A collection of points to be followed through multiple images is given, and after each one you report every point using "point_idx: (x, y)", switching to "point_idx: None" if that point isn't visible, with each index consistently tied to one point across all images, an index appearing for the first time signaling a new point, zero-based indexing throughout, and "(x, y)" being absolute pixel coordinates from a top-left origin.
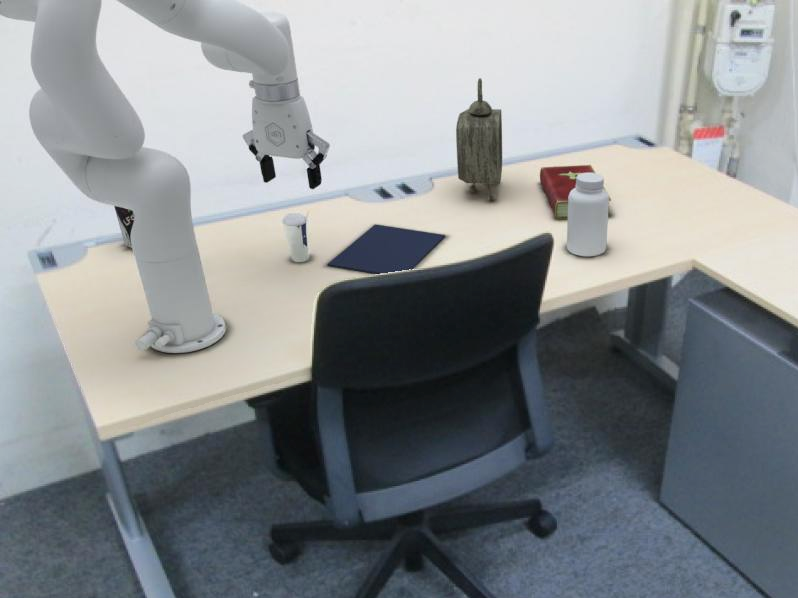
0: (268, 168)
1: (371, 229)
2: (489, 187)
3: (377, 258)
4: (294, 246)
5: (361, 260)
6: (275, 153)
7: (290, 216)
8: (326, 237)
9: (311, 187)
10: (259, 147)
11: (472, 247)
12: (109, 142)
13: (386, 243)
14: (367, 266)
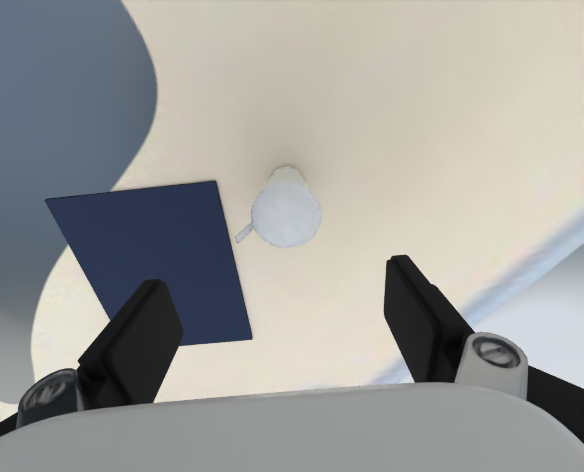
0: (408, 321)
1: (244, 324)
2: None
3: (149, 243)
4: (280, 173)
5: (167, 223)
6: (283, 417)
7: (292, 213)
8: (300, 276)
9: (146, 282)
10: (534, 459)
11: (63, 336)
12: None
13: (182, 294)
14: (137, 207)
